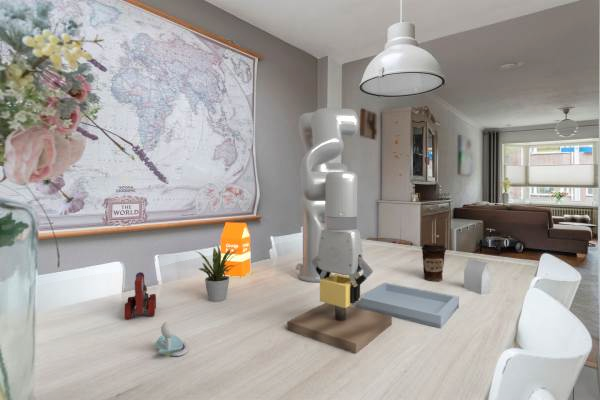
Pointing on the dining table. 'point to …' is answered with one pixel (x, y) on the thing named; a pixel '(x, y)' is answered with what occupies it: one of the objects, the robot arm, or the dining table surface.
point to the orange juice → (236, 248)
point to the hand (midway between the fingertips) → (340, 297)
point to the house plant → (217, 275)
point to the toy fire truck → (140, 299)
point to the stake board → (340, 326)
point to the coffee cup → (433, 261)
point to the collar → (336, 290)
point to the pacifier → (170, 343)
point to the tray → (410, 304)
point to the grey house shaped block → (477, 276)
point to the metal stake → (340, 313)
